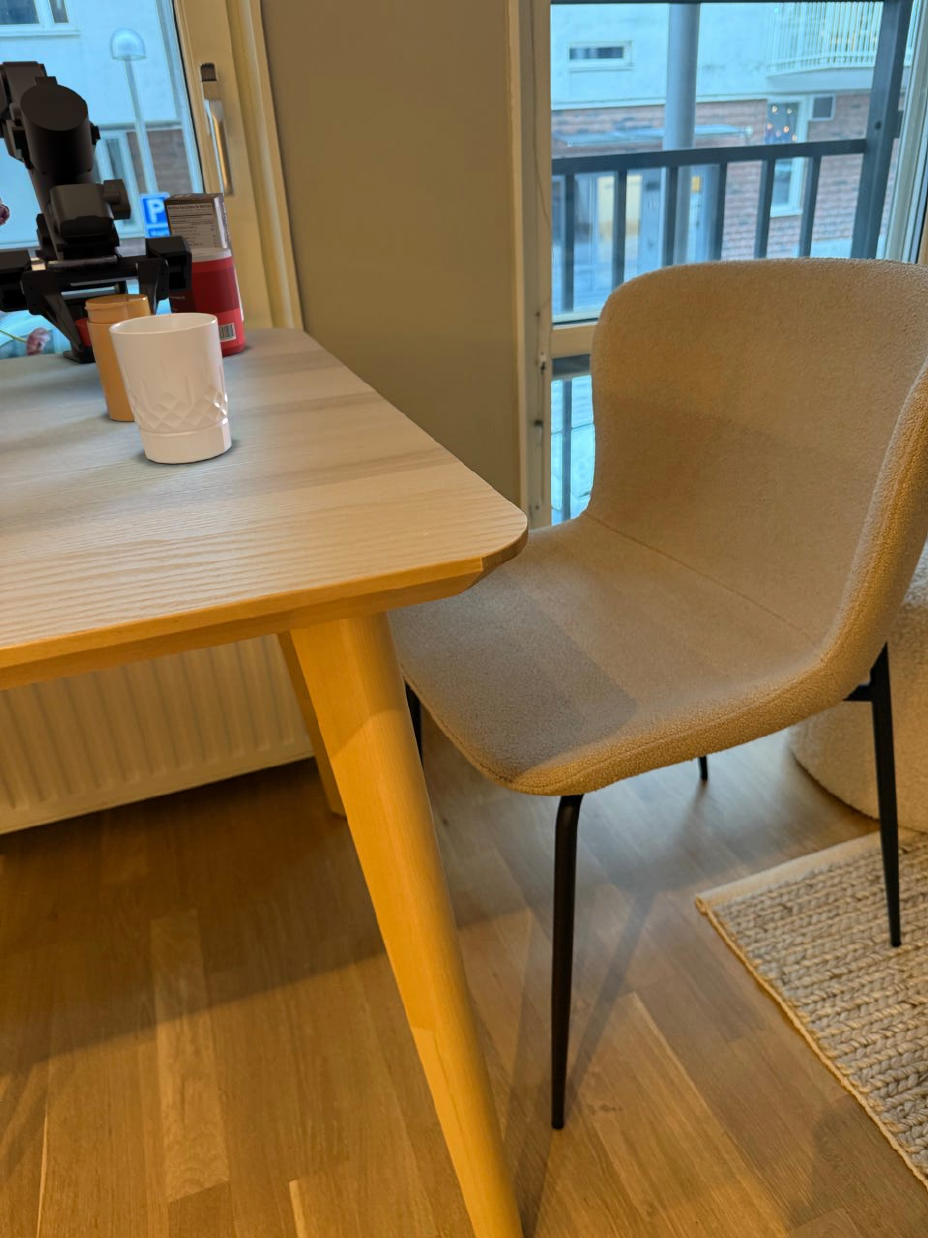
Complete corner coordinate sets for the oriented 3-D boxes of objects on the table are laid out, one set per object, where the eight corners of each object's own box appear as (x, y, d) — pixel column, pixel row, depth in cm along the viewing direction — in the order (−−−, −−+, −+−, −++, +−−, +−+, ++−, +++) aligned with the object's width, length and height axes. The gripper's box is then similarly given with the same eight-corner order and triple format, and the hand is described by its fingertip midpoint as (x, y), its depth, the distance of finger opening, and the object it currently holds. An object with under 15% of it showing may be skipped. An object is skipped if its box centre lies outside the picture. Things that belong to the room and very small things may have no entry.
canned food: (255, 343, 109) (239, 246, 104) (233, 358, 102) (216, 255, 97) (194, 345, 110) (176, 248, 104) (169, 360, 103) (148, 257, 97)
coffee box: (197, 324, 122) (173, 193, 114) (245, 320, 123) (224, 190, 115) (187, 337, 114) (160, 198, 107) (238, 333, 115) (215, 195, 107)
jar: (99, 413, 84) (71, 300, 79) (158, 400, 87) (134, 290, 82) (123, 425, 80) (96, 306, 75) (184, 411, 83) (161, 296, 78)
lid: (147, 340, 86) (143, 321, 85) (75, 348, 84) (70, 328, 84) (149, 328, 91) (144, 309, 90) (81, 335, 90) (76, 316, 89)
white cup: (257, 438, 74) (236, 313, 69) (203, 470, 68) (176, 333, 63) (176, 433, 77) (151, 311, 72) (117, 463, 70) (85, 331, 65)
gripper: (-46, 155, 79) (-4, 302, 76) (168, 143, 86) (216, 277, 83) (-21, 244, 89) (17, 377, 86) (169, 227, 96) (211, 349, 93)
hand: (116, 344), depth 86 cm, fingers closed on lid, 6 cm apart
